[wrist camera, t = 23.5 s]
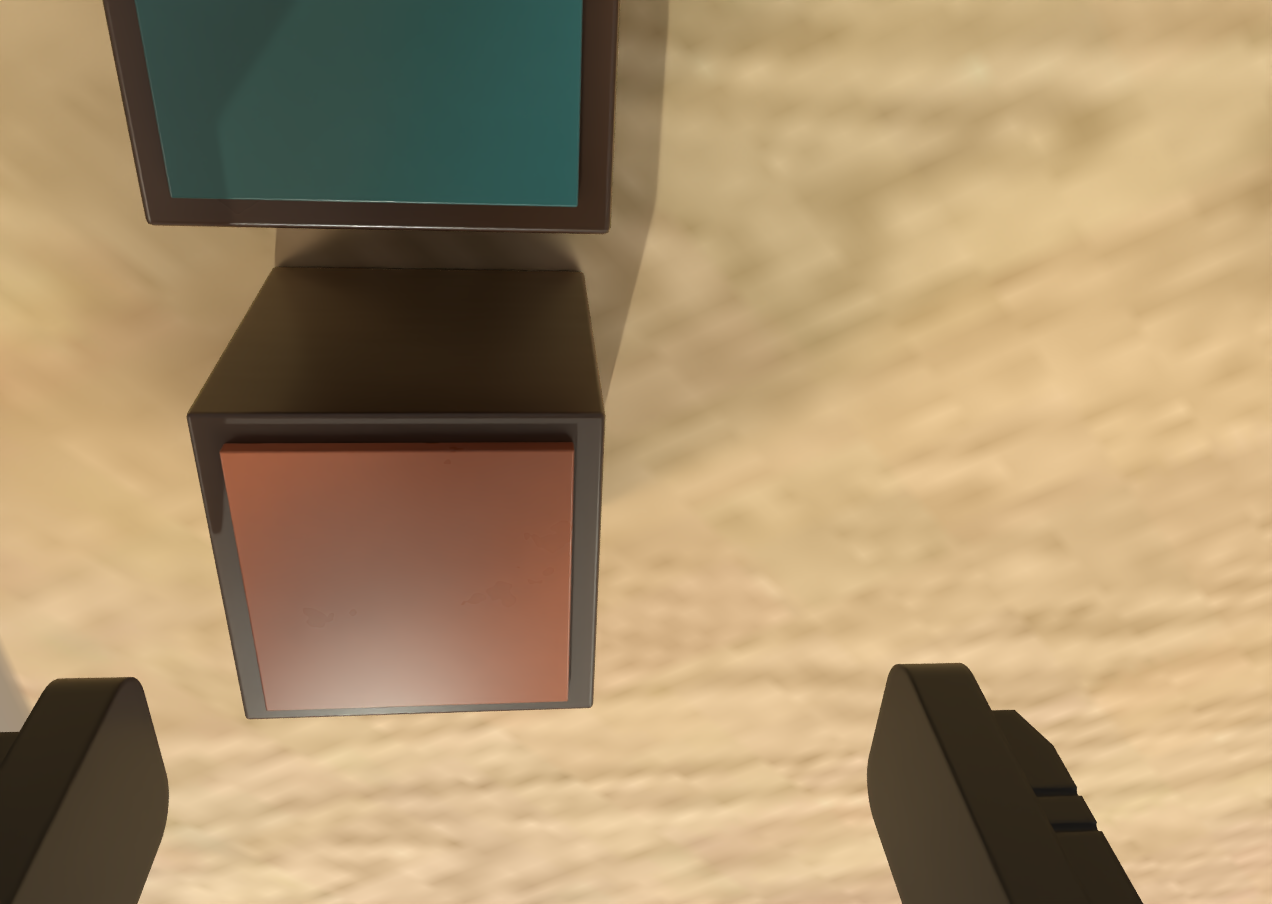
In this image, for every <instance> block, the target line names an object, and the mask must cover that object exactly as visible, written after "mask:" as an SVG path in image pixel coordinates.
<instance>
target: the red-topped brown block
mask: <svg viewBox="0 0 1272 904" xmlns="http://www.w3.org/2000/svg"><path fill="white" fill-rule="evenodd" d="M187 421H188V427H189V432H190V437H191V442H192V447H193V452H194V457H195V462H196V467H197V472H198V477H199V482H200V488H201V493H202V498H203V503H204V508H205V513H206V518H207V523H208V528H209V533H210V538H211V543H212V549H213V554H214V559H215V564H216V569H217V574H218V579H219V584H220V589H221V594H222V599H223V604H224V610H225V615H226V620H227V625H228V630H229V635H230V640H231V645H232V650H233V655H234V660H235V665H236V671H237V676H238V681H239V686H240V691H241V696H242V701H243V706H244V711H245V716H246V718H247V719H270V718H300V717H330V716H360V715H391V714H421V713H451V712H481V711H511V710H542V709H572V708H590V707H592V705H593V696H594V672H595V649H596V625H597V601H598V577H599V554H600V530H601V506H602V482H603V458H604V435H605V411H604V404H603V398H602V391H601V384H600V378H599V371H598V364H597V358H596V351H595V345H594V338H593V331H592V325H591V318H590V311H589V305H588V298H587V292H586V285H585V278H584V274H583V273H582V272H572V271H505V270H438V269H371V268H304V267H275V268H273V269H272V271H271V273H270V274H269V276H268V278H267V279H266V281H265V283H264V284H263V286H262V288H261V289H260V291H259V293H258V295H257V296H256V298H255V300H254V301H253V303H252V305H251V306H250V308H249V310H248V311H247V313H246V315H245V317H244V318H243V320H242V322H241V323H240V325H239V327H238V328H237V330H236V332H235V333H234V335H233V337H232V339H231V340H230V342H229V344H228V345H227V347H226V349H225V350H224V352H223V354H222V355H221V357H220V359H219V361H218V362H217V364H216V366H215V367H214V369H213V371H212V372H211V374H210V376H209V377H208V379H207V381H206V383H205V384H204V386H203V388H202V389H201V391H200V393H199V394H198V396H197V398H196V399H195V401H194V403H193V405H192V406H191V408H190V410H189V411H188V413H187Z"/></svg>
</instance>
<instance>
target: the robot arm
mask: <svg viewBox="0 0 1272 904" xmlns="http://www.w3.org/2000/svg"><path fill="white" fill-rule="evenodd" d="M867 786H868V796H869V803H870V808H871V812H872V816H873V819H874V822H875V825H876V828H877V831H878V834H879V837H880V840H881V843H882V846H883V849H884V851H885V854H886V857H887V860H888V863H889V866H890V869H891V872H892V875H893V878H894V881H895V884H896V887H897V890H898V893H899V895H900V898H901V901H902V904H1143V903H1142V901H1141V899H1140V897H1139V896H1138V894H1137V892H1136V890H1135V889H1134V887H1133V885H1132V883H1131V882H1130V880H1129V878H1128V876H1127V875H1126V873H1125V871H1124V869H1123V867H1122V866H1121V864H1120V862H1119V860H1118V859H1117V857H1116V855H1115V853H1114V852H1113V850H1112V848H1111V846H1110V845H1109V843H1108V841H1107V839H1106V838H1105V836H1104V834H1103V832H1102V831H1098V830H1097V826H1096V823H1097V822H1096V820H1095V818H1094V816H1093V815H1092V813H1091V811H1090V809H1089V808H1088V806H1087V804H1086V802H1085V801H1084V799H1083V797H1082V796H1078V794H1077V787H1076V785H1075V783H1074V781H1073V780H1072V778H1071V776H1070V774H1069V772H1068V771H1067V769H1066V767H1065V765H1064V764H1063V762H1062V760H1061V758H1060V757H1059V755H1058V753H1057V751H1056V750H1055V748H1054V746H1053V745H1052V744H1051V743H1050V742H1049V741H1048V740H1047V739H1046V738H1044V737H1043V736H1042V735H1041V734H1040V733H1039V732H1038V731H1037V730H1036V729H1035V728H1034V727H1032V726H1031V725H1030V724H1029V723H1028V722H1027V721H1026V720H1025V719H1024V718H1023V717H1022V716H1021V715H1019V714H1018V713H1017V712H1016V711H1015V710H991V708H990V706H989V705H988V703H987V701H986V699H985V697H984V695H983V693H982V691H981V689H980V687H979V685H978V683H977V681H976V680H975V678H974V676H973V674H972V672H971V671H970V670H969V668H968V667H967V666H965V665H964V664H962V663H936V664H897V665H894V666H893V667H892V669H891V670H890V672H889V675H888V678H887V683H886V687H885V691H884V695H883V699H882V704H881V708H880V712H879V716H878V720H877V725H876V729H875V733H874V737H873V742H872V746H871V750H870V754H869V759H868V767H867ZM168 803H169V788H168V779H167V774H166V771H165V767H164V763H163V760H162V756H161V752H160V748H159V745H158V741H157V737H156V734H155V730H154V726H153V723H152V719H151V715H150V712H149V708H148V704H147V701H146V697H145V693H144V690H143V687H142V685H141V683H140V682H139V681H138V680H137V679H136V678H134V677H117V678H66V679H56V680H54V681H52V682H51V683H50V684H49V685H48V686H47V687H46V688H45V690H44V691H43V693H42V694H41V696H40V698H39V699H38V701H37V703H36V705H35V706H34V708H33V710H32V711H31V713H30V715H29V716H28V718H27V720H26V722H25V723H24V725H23V727H22V729H21V730H20V732H0V904H137V903H138V901H139V898H140V895H141V893H142V890H143V887H144V885H145V882H146V880H147V877H148V874H149V872H150V869H151V866H152V864H153V861H154V858H155V856H156V853H157V851H158V848H159V845H160V843H161V840H162V837H163V833H164V829H165V825H166V820H167V813H168Z"/></svg>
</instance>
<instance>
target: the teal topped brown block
mask: <svg viewBox="0 0 1272 904" xmlns="http://www.w3.org/2000/svg"><path fill="white" fill-rule="evenodd" d="M103 5H104V10H105V15H106V20H107V25H108V30H109V35H110V40H111V46H112V51H113V56H114V61H115V66H116V71H117V76H118V81H119V86H120V91H121V96H122V101H123V106H124V111H125V116H126V121H127V126H128V131H129V136H130V141H131V147H132V152H133V157H134V162H135V167H136V172H137V177H138V182H139V187H140V192H141V197H142V202H143V207H144V212H145V217H146V220H147V222H148V224H152V225H162V226H213V227H264V228H315V229H366V230H417V231H468V232H519V233H570V234H605V233H608V232H609V230H610V228H611V208H612V184H613V159H614V135H615V110H616V86H617V61H618V37H619V12H620V0H103Z"/></svg>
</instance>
